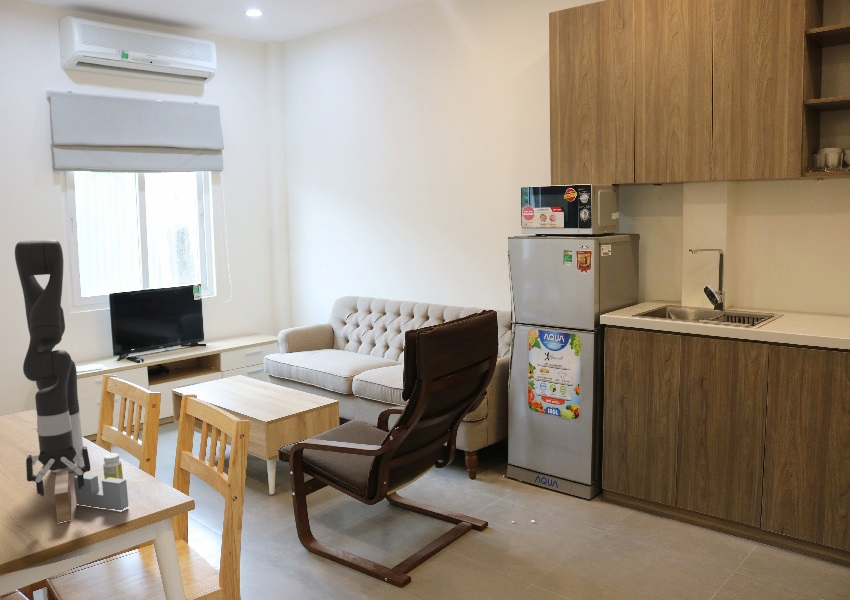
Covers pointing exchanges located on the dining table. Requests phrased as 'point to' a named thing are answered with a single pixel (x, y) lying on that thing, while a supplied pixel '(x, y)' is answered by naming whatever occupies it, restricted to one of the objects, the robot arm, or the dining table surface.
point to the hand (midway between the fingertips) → (61, 491)
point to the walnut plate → (63, 496)
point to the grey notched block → (102, 493)
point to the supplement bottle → (112, 466)
